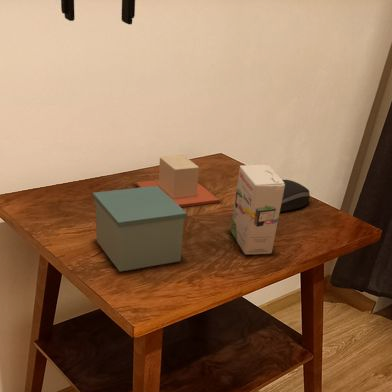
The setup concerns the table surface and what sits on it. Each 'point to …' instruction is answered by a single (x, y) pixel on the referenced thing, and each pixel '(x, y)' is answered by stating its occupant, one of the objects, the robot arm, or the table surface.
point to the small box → (178, 176)
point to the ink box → (257, 208)
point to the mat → (200, 199)
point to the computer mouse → (294, 196)
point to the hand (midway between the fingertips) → (98, 21)
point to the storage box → (139, 227)
